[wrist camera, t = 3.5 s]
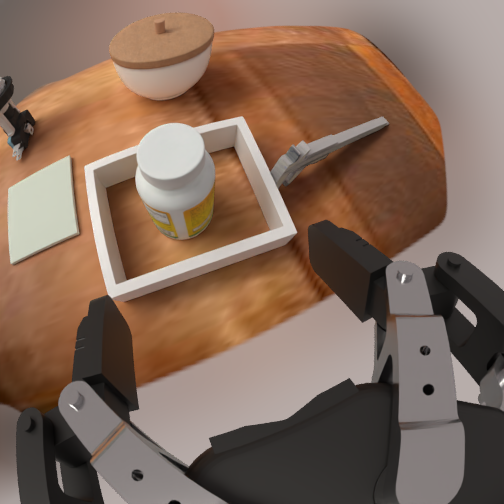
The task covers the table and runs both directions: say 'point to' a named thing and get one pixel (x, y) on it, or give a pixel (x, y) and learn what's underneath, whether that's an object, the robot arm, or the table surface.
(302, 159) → the caliper
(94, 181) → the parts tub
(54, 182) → the rubber mat
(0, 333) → the table surface
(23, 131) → the push button
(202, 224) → the supplement bottle
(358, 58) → the table surface
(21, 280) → the table surface
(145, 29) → the lidded jar
